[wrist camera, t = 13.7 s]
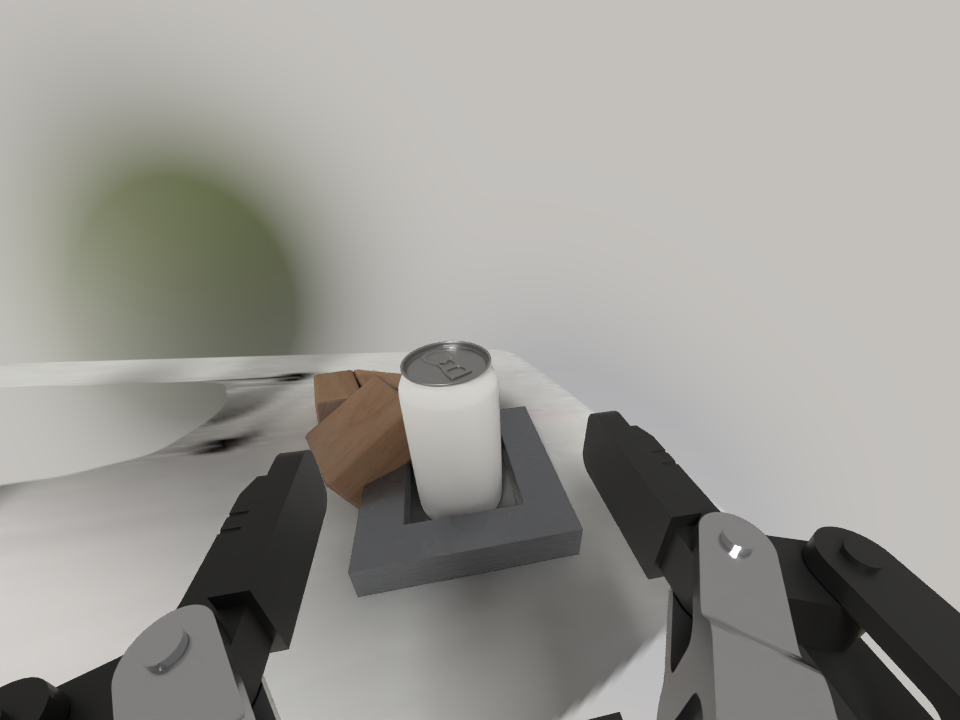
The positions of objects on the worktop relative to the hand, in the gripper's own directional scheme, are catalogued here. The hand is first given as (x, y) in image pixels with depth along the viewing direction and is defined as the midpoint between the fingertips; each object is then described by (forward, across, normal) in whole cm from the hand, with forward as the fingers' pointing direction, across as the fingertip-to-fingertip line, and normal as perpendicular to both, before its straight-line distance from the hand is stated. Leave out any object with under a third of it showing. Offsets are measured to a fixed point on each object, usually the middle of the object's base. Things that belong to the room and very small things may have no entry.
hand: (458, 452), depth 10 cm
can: (+11, 0, +15) cm, 19 cm away
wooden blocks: (+20, +6, +16) cm, 26 cm away
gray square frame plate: (+11, 0, +15) cm, 19 cm away
